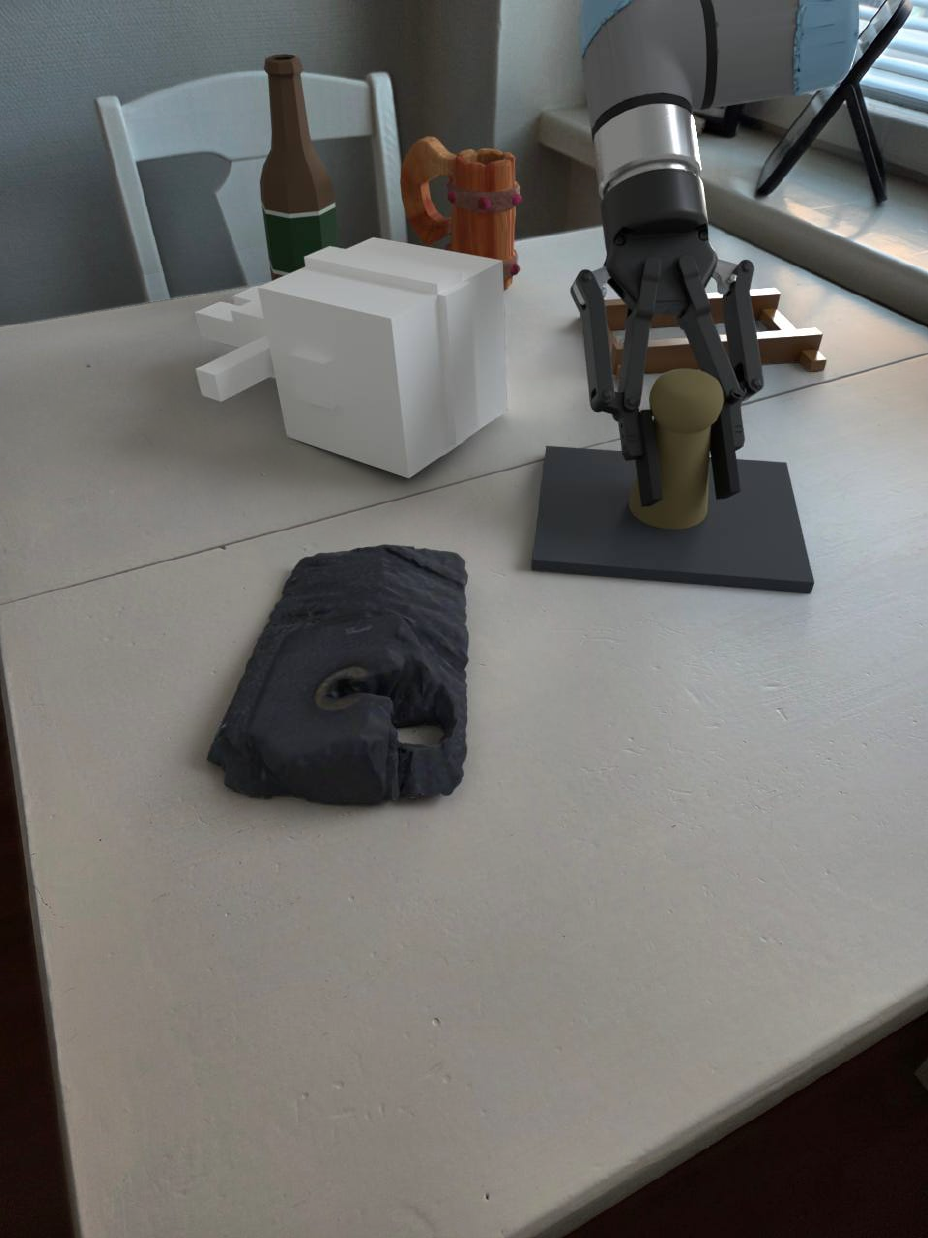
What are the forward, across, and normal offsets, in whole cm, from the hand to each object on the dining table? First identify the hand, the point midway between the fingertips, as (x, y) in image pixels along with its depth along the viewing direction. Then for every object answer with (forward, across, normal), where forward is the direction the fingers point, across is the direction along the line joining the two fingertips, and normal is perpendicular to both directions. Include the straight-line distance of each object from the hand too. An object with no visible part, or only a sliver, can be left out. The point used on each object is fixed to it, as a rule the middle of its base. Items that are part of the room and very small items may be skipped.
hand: (690, 498), depth 69 cm
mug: (-34, +8, -40) cm, 53 cm away
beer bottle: (-32, +26, -38) cm, 56 cm away
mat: (0, 0, -6) cm, 6 cm away
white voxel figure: (-15, +24, -21) cm, 35 cm away
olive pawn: (0, 0, -5) cm, 5 cm away
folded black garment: (+10, +25, +4) cm, 27 cm away
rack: (-20, -13, -26) cm, 36 cm away
